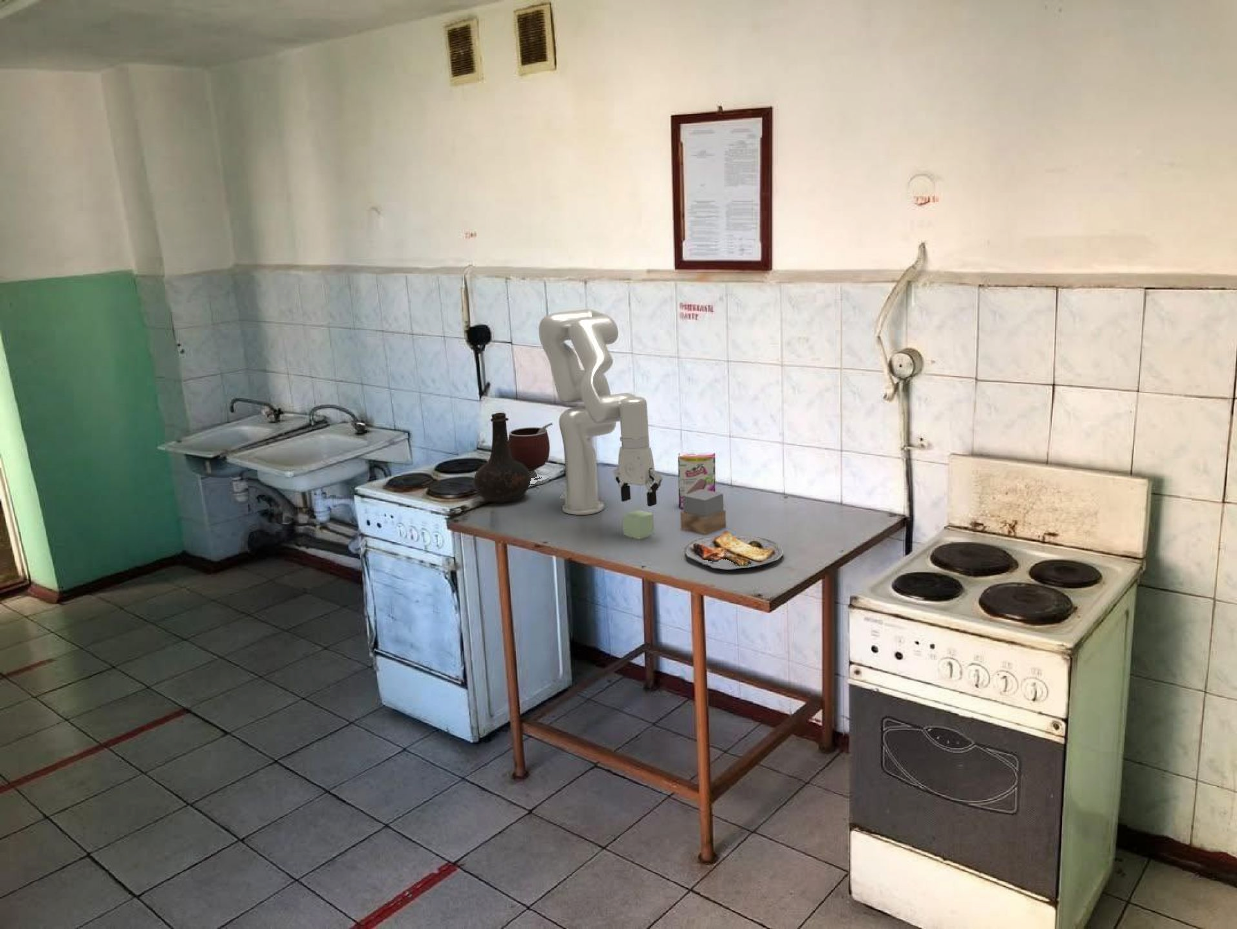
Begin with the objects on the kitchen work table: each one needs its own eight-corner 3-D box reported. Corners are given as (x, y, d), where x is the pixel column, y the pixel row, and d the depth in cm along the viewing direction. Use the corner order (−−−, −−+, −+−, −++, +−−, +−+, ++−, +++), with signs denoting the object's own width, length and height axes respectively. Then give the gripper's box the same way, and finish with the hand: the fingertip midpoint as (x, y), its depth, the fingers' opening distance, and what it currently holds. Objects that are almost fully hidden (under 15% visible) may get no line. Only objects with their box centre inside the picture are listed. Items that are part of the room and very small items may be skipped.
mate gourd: (506, 485, 335) (501, 427, 330) (517, 474, 349) (512, 418, 344) (551, 486, 333) (547, 427, 328) (560, 474, 346) (556, 418, 341)
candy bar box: (678, 509, 301) (677, 456, 297) (679, 504, 306) (677, 452, 302) (716, 508, 300) (715, 455, 296) (716, 503, 305) (715, 451, 300)
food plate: (667, 554, 263) (667, 541, 262) (734, 535, 275) (734, 523, 275) (731, 583, 243) (731, 569, 242) (799, 561, 256) (800, 548, 255)
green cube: (623, 535, 280) (622, 515, 278) (638, 530, 284) (637, 509, 282) (639, 539, 276) (638, 519, 274) (653, 534, 280) (653, 513, 278)
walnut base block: (680, 529, 283) (680, 512, 282) (701, 521, 289) (700, 505, 288) (705, 535, 277) (705, 518, 276) (725, 527, 283) (725, 510, 282)
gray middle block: (683, 512, 282) (682, 495, 280) (701, 505, 287) (700, 489, 286) (705, 517, 276) (705, 500, 275) (723, 510, 282) (723, 493, 281)
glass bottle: (469, 507, 313) (462, 420, 306) (483, 491, 330) (476, 408, 323) (525, 507, 310) (519, 419, 303) (536, 491, 327) (531, 407, 320)
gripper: (603, 442, 276) (607, 501, 280) (649, 448, 264) (653, 510, 268) (621, 437, 281) (625, 495, 285) (668, 442, 270) (671, 504, 274)
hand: (638, 502), depth 277 cm, fingers open, 9 cm apart
